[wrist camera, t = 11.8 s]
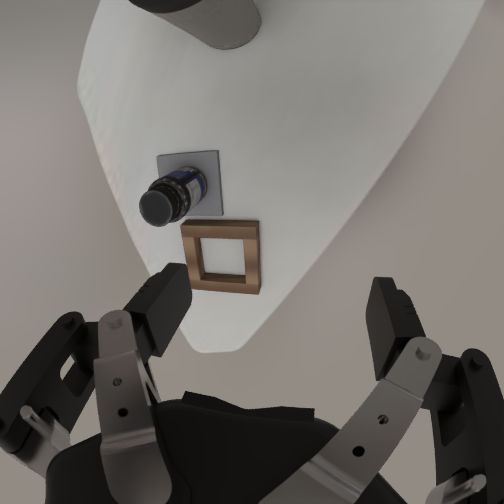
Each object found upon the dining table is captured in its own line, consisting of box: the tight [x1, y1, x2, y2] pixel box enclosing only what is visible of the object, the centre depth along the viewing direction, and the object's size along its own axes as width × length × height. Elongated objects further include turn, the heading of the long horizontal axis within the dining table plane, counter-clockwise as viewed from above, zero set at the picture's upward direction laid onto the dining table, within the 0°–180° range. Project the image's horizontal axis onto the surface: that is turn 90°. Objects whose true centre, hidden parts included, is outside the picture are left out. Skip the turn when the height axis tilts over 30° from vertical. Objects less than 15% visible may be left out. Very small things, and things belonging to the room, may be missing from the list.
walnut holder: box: [180, 220, 261, 295], centre depth 45 cm, size 12×12×2 cm
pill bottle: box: [139, 166, 207, 227], centre depth 36 cm, size 6×6×11 cm
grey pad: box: [157, 151, 223, 216], centre depth 41 cm, size 10×10×1 cm
